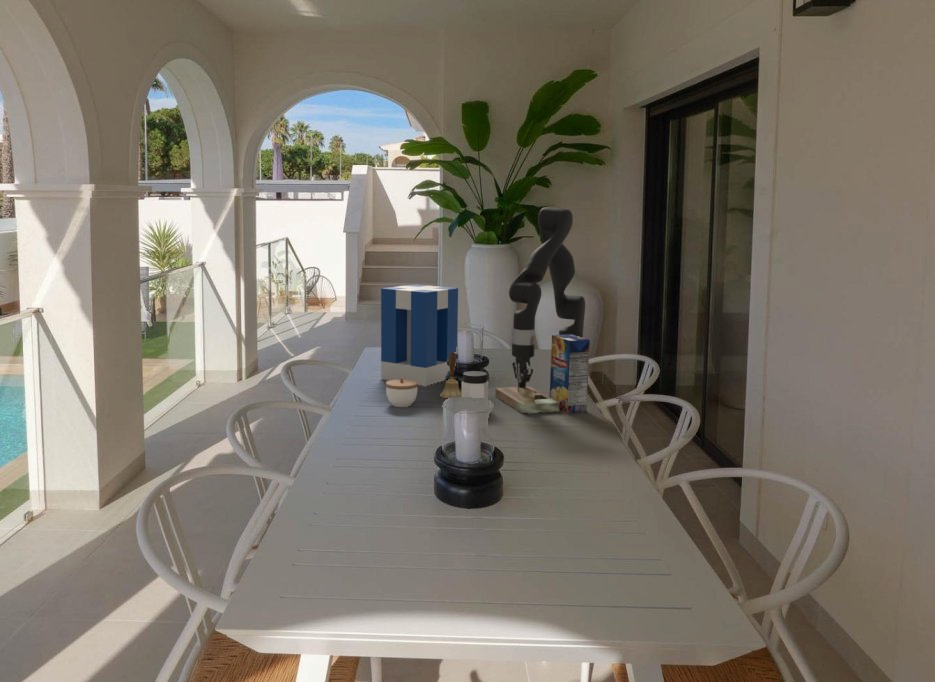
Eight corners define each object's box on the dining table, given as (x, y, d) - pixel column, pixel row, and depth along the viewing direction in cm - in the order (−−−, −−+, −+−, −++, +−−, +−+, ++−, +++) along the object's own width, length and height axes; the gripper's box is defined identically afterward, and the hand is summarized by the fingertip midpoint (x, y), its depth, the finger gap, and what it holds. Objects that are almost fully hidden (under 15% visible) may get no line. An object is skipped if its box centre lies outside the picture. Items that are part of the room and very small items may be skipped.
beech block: (529, 398, 265) (529, 387, 264) (534, 401, 261) (534, 389, 260) (518, 399, 264) (518, 387, 263) (523, 402, 260) (523, 390, 259)
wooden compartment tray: (529, 394, 285) (529, 386, 284) (559, 411, 261) (559, 402, 261) (495, 396, 281) (495, 388, 280) (522, 413, 257) (522, 404, 257)
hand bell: (467, 395, 282) (467, 351, 279) (457, 400, 274) (457, 354, 271) (446, 392, 285) (446, 348, 282) (435, 397, 277) (436, 352, 275)
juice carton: (549, 404, 270) (551, 335, 266) (568, 403, 273) (571, 334, 269) (567, 413, 259) (569, 340, 255) (586, 411, 262) (589, 339, 258)
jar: (492, 409, 262) (493, 374, 260) (473, 413, 256) (474, 377, 254) (475, 404, 268) (476, 369, 266) (456, 407, 263) (457, 372, 261)
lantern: (456, 376, 312) (458, 288, 306) (425, 386, 294) (426, 292, 288) (413, 370, 323) (414, 284, 317) (381, 379, 305) (381, 288, 299)
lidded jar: (422, 403, 269) (422, 376, 267) (410, 410, 259) (410, 382, 257) (393, 400, 272) (393, 373, 271) (380, 407, 262) (380, 379, 261)
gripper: (541, 345, 258) (539, 397, 261) (526, 338, 270) (524, 387, 273) (520, 346, 255) (518, 398, 258) (505, 339, 268) (504, 389, 271)
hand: (521, 392), depth 266 cm, fingers closed
